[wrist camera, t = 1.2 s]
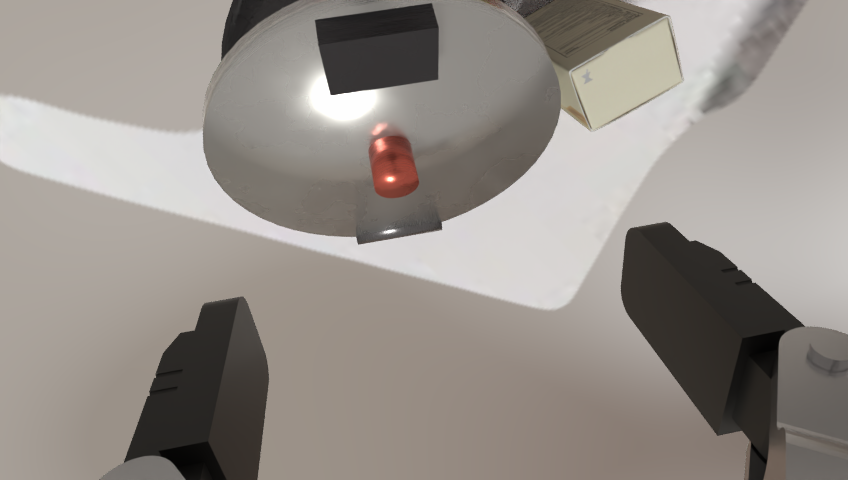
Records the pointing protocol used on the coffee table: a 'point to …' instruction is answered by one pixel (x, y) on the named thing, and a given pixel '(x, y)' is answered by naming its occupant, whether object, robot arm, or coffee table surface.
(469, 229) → the coffee table surface
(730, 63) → the coffee table surface
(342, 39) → the cooker lid
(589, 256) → the coffee table surface
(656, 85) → the skincare box
